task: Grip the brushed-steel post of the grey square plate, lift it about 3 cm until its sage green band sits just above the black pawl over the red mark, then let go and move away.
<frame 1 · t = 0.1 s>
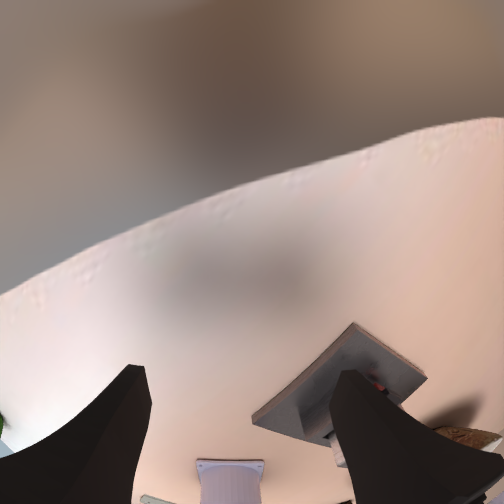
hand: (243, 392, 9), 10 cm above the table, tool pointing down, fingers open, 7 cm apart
bowl: (417, 447, 31), on the table
grey square plate: (346, 398, 24), on the table
column: (359, 429, 20), point 4 cm above the table, slide at 0.0 cm
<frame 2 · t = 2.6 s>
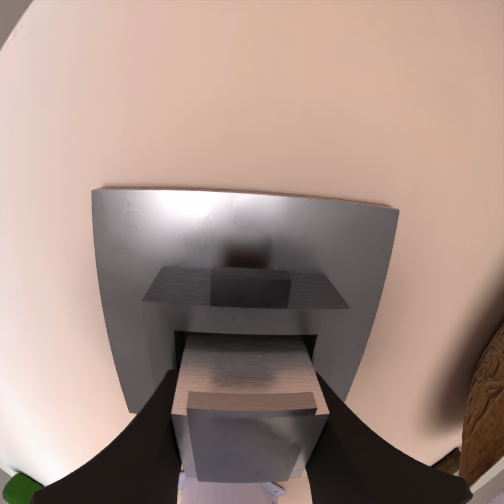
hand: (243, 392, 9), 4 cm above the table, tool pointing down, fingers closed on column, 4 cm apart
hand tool: (405, 482, 26), on the table
grey square plate: (239, 327, 14), on the table
column: (242, 388, 10), point 4 cm above the table, slide at 0.0 cm, touching gripper
bell pepper: (33, 480, 23), on the table
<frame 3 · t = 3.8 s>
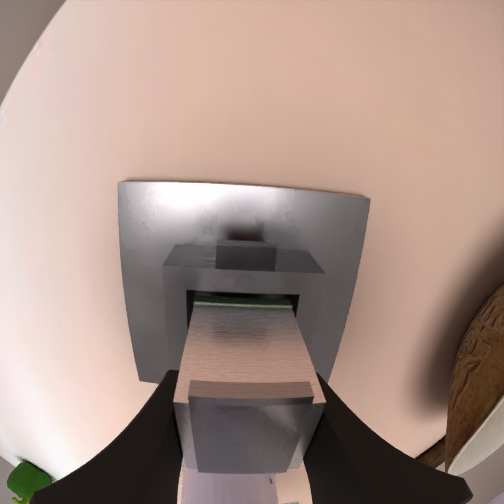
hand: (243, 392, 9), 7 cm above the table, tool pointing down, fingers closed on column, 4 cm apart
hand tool: (399, 468, 29), on the table
bowl: (491, 329, 20), on the table
grey square plate: (238, 298, 16), on the table
column: (242, 380, 10), point 7 cm above the table, slide at 2.6 cm, touching gripper
bell pepper: (38, 469, 26), on the table
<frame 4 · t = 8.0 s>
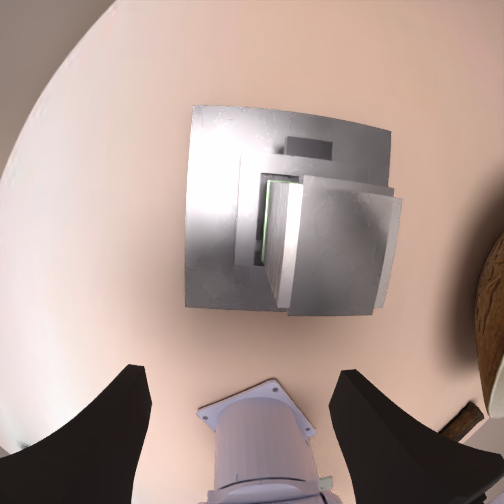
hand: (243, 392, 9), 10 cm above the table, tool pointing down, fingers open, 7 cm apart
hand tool: (426, 443, 29), on the table
bowl: (503, 279, 22), on the table
grey square plate: (289, 213, 18), on the table
column: (318, 233, 12), point 7 cm above the table, slide at 2.6 cm
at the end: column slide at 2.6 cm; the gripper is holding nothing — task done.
